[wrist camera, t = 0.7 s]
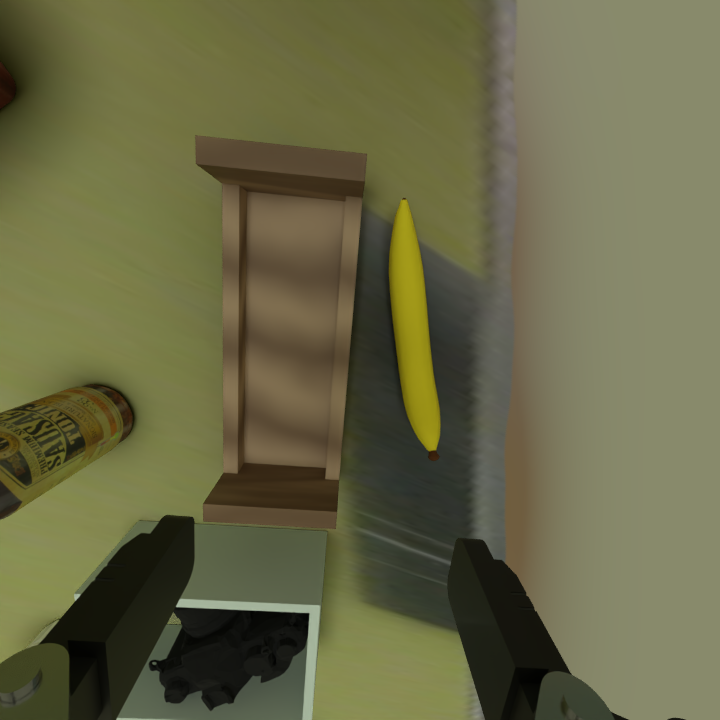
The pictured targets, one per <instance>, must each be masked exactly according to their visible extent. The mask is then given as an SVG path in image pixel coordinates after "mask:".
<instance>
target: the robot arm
mask: <svg viewBox="0 0 720 720" xmlns="http://www.w3.org/2000/svg"><path fill="white" fill-rule="evenodd" d="M194 560H195V535H194V518H193V517H187V516H174V515H165V516H164V517H163V518H162V519H161V520H160V521H159V523H158V524H157V525H156V527H155V528H154V529H153V531H152V532H151V533H140V534H139V535H137V536H136V537H134V538H133V539H132V540H130V541H129V542H127V543H126V544H124V545H123V546H122V547H121V548H120V549H119V550H118V551H117V553H116V554H115V555H114V556H113V557H112V558H111V560H110V561H109V562H108V564H107V566H106V567H104V568H103V569H102V570H101V571H100V573H99V574H98V575H97V576H96V577H95V580H94V581H92V582H91V583H90V584H89V586H88V587H87V588H86V589H85V590H84V592H83V593H82V594H81V595H80V596H79V598H78V599H77V600H76V601H75V602H74V603H73V605H72V606H71V607H70V608H69V609H68V611H67V612H66V613H65V614H64V615H63V616H62V618H61V619H60V620H59V621H58V622H57V624H56V625H55V626H54V627H53V628H52V629H51V631H50V632H49V633H48V634H47V635H46V637H45V638H44V639H43V640H42V641H41V642H40V643H39V644H38V645H36V646H32V647H30V648H27V649H24V650H22V651H20V652H18V653H16V654H14V655H13V656H11V657H9V658H8V659H6V660H5V661H3V662H2V663H1V664H0V720H116V719H117V717H118V715H119V713H120V711H121V709H122V708H123V706H124V704H125V702H126V700H127V698H128V696H129V694H130V692H131V691H132V689H133V687H134V685H135V683H136V681H137V679H138V677H139V675H140V674H141V672H142V670H143V668H144V666H145V664H146V662H147V660H148V658H149V656H150V655H151V653H152V651H153V649H154V647H155V645H156V643H157V641H158V639H159V638H160V636H161V634H162V632H163V630H164V628H165V626H166V624H167V622H168V620H169V619H170V617H171V615H172V613H173V611H174V609H175V607H176V605H177V603H178V602H179V600H180V598H181V596H182V594H183V592H184V590H185V588H186V586H187V584H188V582H189V580H190V577H191V574H192V571H193V567H194ZM448 596H449V601H450V605H451V608H452V611H453V615H454V618H455V621H456V625H457V628H458V631H459V635H460V638H461V641H462V645H463V648H464V651H465V654H466V658H467V661H468V664H469V668H470V671H471V674H472V678H473V681H474V684H475V688H476V691H477V694H478V697H479V701H480V704H481V707H482V711H483V714H484V717H485V720H628V719H626V718H623V717H621V716H619V715H616V714H614V713H612V712H611V711H610V710H609V708H608V707H607V705H606V704H605V702H604V701H603V700H602V699H601V698H600V697H599V696H598V694H597V693H596V692H595V691H594V690H593V689H592V688H591V687H589V686H588V685H587V684H586V683H584V682H583V681H582V680H580V679H578V678H576V677H575V676H573V675H572V674H571V673H570V671H569V669H568V668H567V666H566V664H565V662H564V661H563V659H562V657H561V655H560V653H559V652H558V649H557V648H556V646H555V644H554V642H553V641H552V639H551V637H550V635H549V633H548V631H547V630H546V628H545V626H544V624H543V622H542V621H541V619H540V617H539V615H538V613H537V612H536V611H535V610H534V606H533V604H532V602H531V601H530V599H529V597H528V596H526V592H525V590H524V588H523V586H522V584H521V583H520V581H519V579H518V577H517V575H516V574H515V573H514V572H513V571H512V570H511V569H510V568H509V567H508V566H507V565H506V564H505V563H504V562H503V561H502V560H494V559H493V557H492V555H491V553H490V551H489V549H488V547H487V545H486V543H485V542H484V541H483V540H480V539H466V538H458V539H457V540H456V543H455V547H454V552H453V556H452V561H451V566H450V570H449V575H448ZM668 720H685V719H680V718H671V719H668Z"/></svg>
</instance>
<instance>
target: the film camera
mask: <svg viewBox="0 0 720 720" xmlns="http://www.w3.org/2000/svg"><path fill="white" fill-rule="evenodd" d="M173 612H174V613H175V614H176V616H177V617H178V618H179V619H180V620H181V624H182V628H181V630H180V632H179V634H178V636H177V638H176V640H175V642H174V644H173V646H172V648H171V650H170V652H169V654H168V656H167V658H166V659H163V660H161V661H159V660H151V661H150V662H149V668H150V671H156V670H157V671H158V672H160V673H159V682H161V685H163V686H164V688H165V692H164V699H165V701H166V703H167V702H170V703H173V704H179V703H181V702H182V701H184V699H185V698H186V697H187V695H189V694H192V693H195V692H198V691H202V696H201V699H202V701H203V702H204V704H205V705H206V706H207V708H208V709H209V710H210V711H212V710H213V709H214V708H215V707H217V706H220V705H222V704H225V703H228V704H232V703H234V700H235V698H236V696H237V694H238V693H239V692H240V690H241V689H242V688H243V687H244V686H245V685H246V684H247V682H248V681H249V680H250V679H251V678H252V676H261V683H264V682H267V681H270V680H272V679H274V678H277V677H279V676H281V675H282V674H284V673H285V671H286V670H287V669H288V668H289V666H290V664H291V662H292V659H293V656H296V655H297V654H298V653H300V652H301V651H302V650H303V649H304V648H305V646H306V642H307V638H308V630H309V615H310V613H296V612H274V611H252V610H230V609H209V608H187V607H175V609H174V611H173ZM152 662H156V665H153V664H152Z"/></svg>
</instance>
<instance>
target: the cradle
mask: <svg viewBox="0 0 720 720" xmlns="http://www.w3.org/2000/svg"><path fill="white" fill-rule="evenodd" d="M195 140H196V164H197V165H198V166H199V167H201V168H202V169H204V170H205V171H206V172H208V173H209V174H210V175H212V176H213V177H214V178H216V179H217V180H218V181H220V182H221V183H222V238H223V454H224V473H223V474H222V476H221V477H220V479H219V480H218V482H217V484H216V485H215V487H214V488H213V490H212V491H211V493H210V494H209V496H208V497H207V499H206V500H205V502H204V503H203V521H206V522H224V523H241V524H259V525H276V526H294V527H311V528H329V529H336V519H337V505H338V488H339V474H340V462H341V450H342V438H343V426H344V414H345V402H346V390H347V378H348V366H349V354H350V342H351V330H352V318H353V306H354V294H355V282H356V270H357V258H358V246H359V234H360V222H361V210H362V198H363V191H364V183H365V173H366V161H367V154H363V153H354V152H345V151H335V150H326V149H317V148H308V147H298V146H289V145H280V144H270V143H261V142H252V141H243V140H233V139H224V138H215V137H206V136H196V135H195Z"/></svg>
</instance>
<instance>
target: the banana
mask: <svg viewBox="0 0 720 720" xmlns="http://www.w3.org/2000/svg"><path fill="white" fill-rule="evenodd" d="M389 284H390V298H391V309H392V318H393V327H394V335H395V343H396V352H397V360H398V367H399V375H400V382H401V389H402V395H403V400H404V405H405V409H406V412H407V416H408V418H409V421H410V423H411V426H412V428H413V430H414V432H415V433H416V435H417V437H418V439H419V440H420V441H421V443H422V444H423V445H424V446H425V447H426V449H427V450H428V451H429V456H428V458H429V459H430V460H432V461H436V460H437V459H439V455H438V454H437V452H436V448H437V444H438V441H439V437H440V425H441V423H440V409H439V402H438V396H437V391H436V385H435V379H434V372H433V365H432V356H431V347H430V337H429V326H428V314H427V302H426V291H425V281H424V273H423V265H422V260H421V254H420V248H419V244H418V240H417V235H416V231H415V227H414V223H413V219H412V215H411V211H410V208H409V205H408V201H407V200H406V199H405V198H403V199H402V200H401V201H400V205H399V208H398V210H397V213H396V215H395V220H394V225H393V231H392V237H391V245H390V252H389Z"/></svg>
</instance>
